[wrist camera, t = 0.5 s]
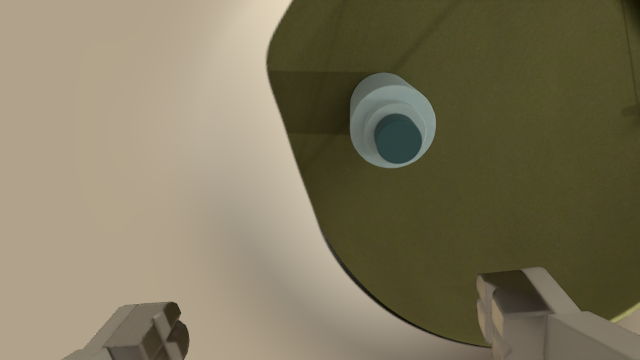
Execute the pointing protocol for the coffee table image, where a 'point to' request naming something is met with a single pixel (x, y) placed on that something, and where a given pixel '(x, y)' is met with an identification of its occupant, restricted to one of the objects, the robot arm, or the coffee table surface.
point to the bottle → (390, 121)
